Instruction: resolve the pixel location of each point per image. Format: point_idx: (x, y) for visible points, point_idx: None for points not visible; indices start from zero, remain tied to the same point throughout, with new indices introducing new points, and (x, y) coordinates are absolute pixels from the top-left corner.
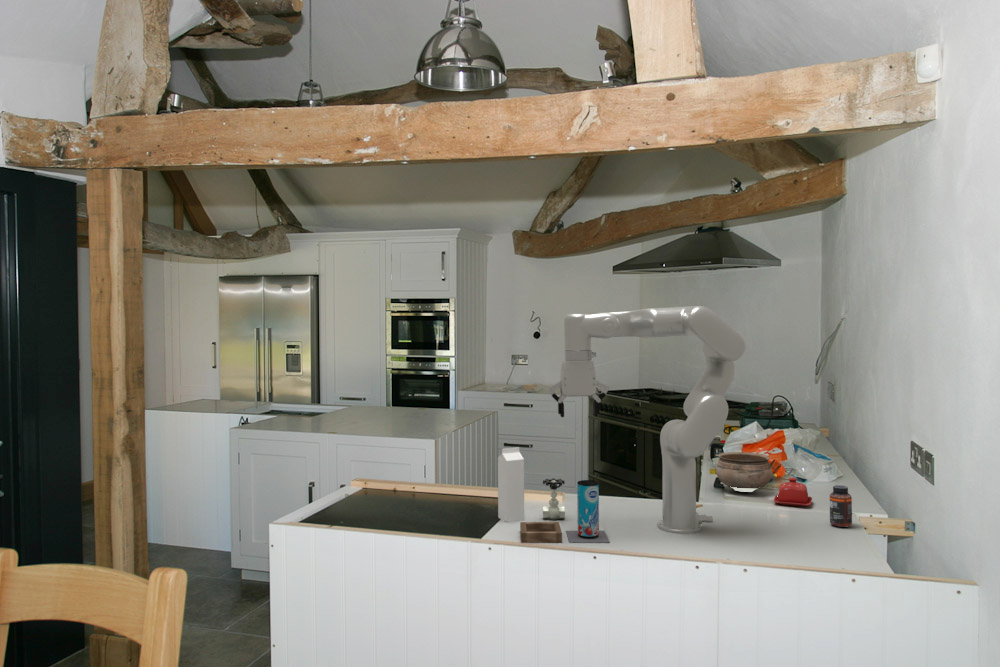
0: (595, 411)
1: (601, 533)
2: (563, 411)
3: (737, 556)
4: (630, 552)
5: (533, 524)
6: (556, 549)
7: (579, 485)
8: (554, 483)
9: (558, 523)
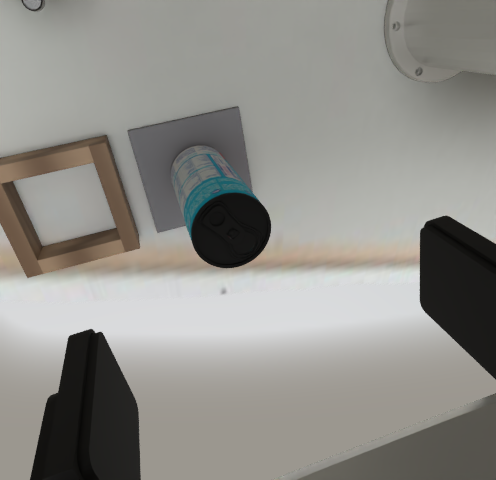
0: (452, 334)
1: (232, 139)
2: (133, 455)
3: (480, 222)
4: (295, 251)
5: (27, 176)
6: (133, 274)
7: (201, 253)
8: (37, 10)
9: (108, 160)
